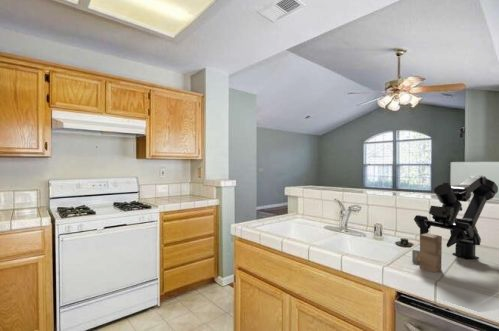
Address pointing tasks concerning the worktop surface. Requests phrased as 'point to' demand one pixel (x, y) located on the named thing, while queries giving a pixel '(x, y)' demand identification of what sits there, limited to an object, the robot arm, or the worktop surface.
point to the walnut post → (430, 252)
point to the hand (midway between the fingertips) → (433, 243)
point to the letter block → (416, 254)
